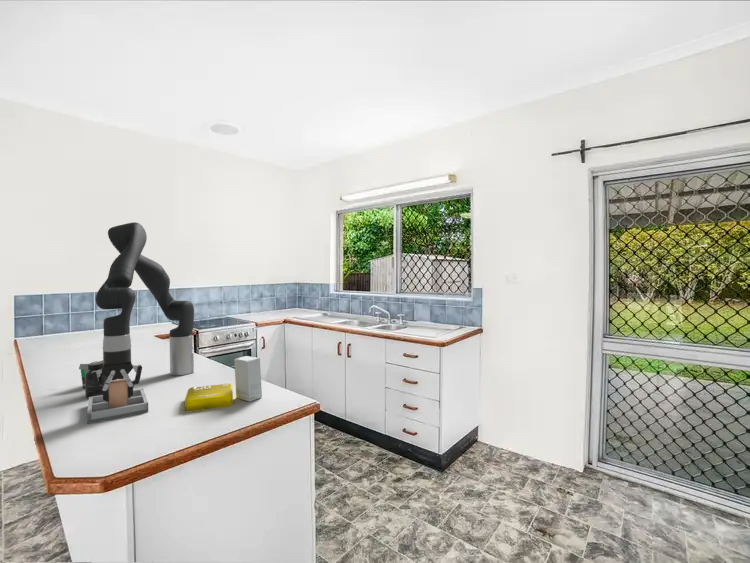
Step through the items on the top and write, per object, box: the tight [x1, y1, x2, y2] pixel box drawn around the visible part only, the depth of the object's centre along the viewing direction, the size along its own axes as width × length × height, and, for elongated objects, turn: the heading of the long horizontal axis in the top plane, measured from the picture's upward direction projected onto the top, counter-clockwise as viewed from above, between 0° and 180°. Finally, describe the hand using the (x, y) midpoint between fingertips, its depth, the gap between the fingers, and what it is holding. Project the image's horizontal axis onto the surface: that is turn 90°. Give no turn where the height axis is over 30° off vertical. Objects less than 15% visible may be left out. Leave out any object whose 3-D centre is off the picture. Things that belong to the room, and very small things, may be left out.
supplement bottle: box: [84, 362, 108, 399], centre depth 139 cm, size 7×7×12 cm
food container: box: [78, 360, 103, 389], centre depth 152 cm, size 12×6×10 cm, turn 168°
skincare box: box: [233, 355, 263, 402], centre depth 136 cm, size 8×6×15 cm
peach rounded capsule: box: [108, 379, 128, 408], centre depth 122 cm, size 6×6×8 cm
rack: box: [86, 388, 149, 425], centre depth 125 cm, size 16×19×3 cm
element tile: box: [184, 383, 234, 412], centre depth 132 cm, size 15×15×5 cm
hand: (118, 399), depth 122 cm, fingers closed on peach rounded capsule, 5 cm apart
